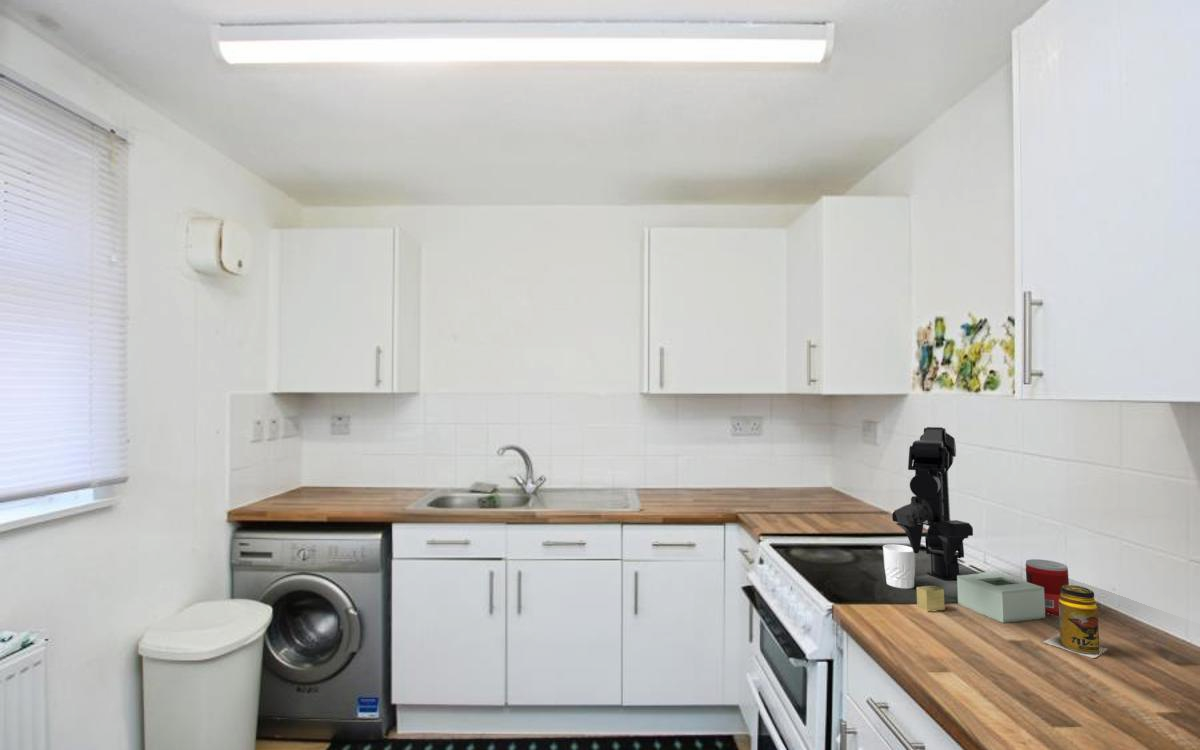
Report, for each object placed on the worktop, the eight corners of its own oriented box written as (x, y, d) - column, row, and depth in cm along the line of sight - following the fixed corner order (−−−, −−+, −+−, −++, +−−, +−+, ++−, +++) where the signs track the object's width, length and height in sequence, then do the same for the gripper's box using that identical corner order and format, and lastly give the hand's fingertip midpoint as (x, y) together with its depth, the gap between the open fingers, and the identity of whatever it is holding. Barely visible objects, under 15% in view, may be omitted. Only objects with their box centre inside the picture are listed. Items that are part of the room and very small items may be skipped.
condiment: (1094, 659, 107) (1091, 596, 108) (1042, 643, 114) (1039, 584, 115) (1108, 650, 111) (1105, 589, 111) (1056, 635, 118) (1054, 578, 119)
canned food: (1078, 616, 128) (1076, 568, 129) (1044, 615, 128) (1041, 568, 129) (1052, 604, 136) (1050, 559, 137) (1019, 604, 136) (1017, 559, 137)
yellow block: (917, 607, 134) (916, 587, 134) (934, 606, 135) (933, 585, 135) (927, 612, 131) (926, 591, 131) (944, 610, 132) (943, 589, 132)
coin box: (958, 604, 136) (956, 575, 136) (997, 600, 139) (996, 572, 139) (1003, 623, 124) (1002, 591, 125) (1045, 618, 127) (1044, 587, 127)
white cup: (891, 578, 156) (890, 542, 157) (921, 585, 150) (920, 548, 151) (878, 584, 151) (877, 547, 152) (909, 591, 145) (908, 553, 146)
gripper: (873, 489, 142) (875, 550, 141) (933, 501, 123) (936, 571, 123) (909, 487, 144) (911, 547, 143) (973, 499, 126) (976, 568, 125)
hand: (931, 558), depth 134 cm, fingers open, 9 cm apart
